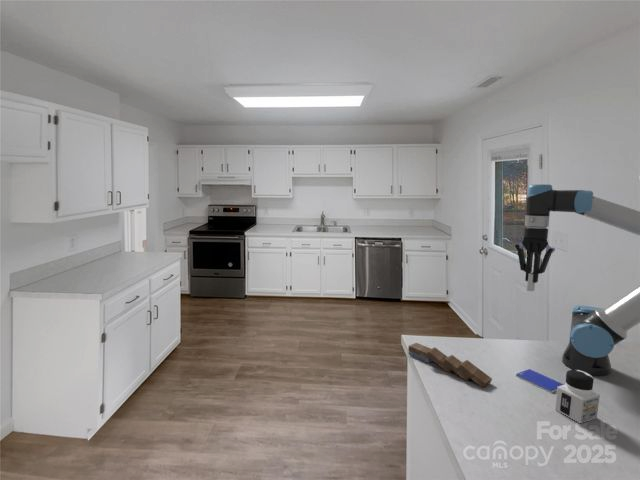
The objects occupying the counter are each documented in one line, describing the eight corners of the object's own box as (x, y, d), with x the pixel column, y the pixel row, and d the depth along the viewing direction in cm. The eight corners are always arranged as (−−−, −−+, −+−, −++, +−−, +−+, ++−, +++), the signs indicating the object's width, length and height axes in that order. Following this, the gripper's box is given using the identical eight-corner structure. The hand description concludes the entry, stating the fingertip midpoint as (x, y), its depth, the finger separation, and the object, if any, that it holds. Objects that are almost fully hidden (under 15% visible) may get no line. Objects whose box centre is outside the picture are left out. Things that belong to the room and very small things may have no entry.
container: (580, 424, 105) (585, 382, 103) (554, 410, 112) (558, 369, 110) (597, 418, 108) (602, 376, 106) (570, 404, 115) (575, 365, 113)
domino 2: (457, 364, 137) (434, 347, 143) (450, 368, 134) (428, 351, 140) (455, 368, 138) (432, 350, 144) (448, 373, 134) (426, 355, 140)
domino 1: (437, 351, 144) (416, 342, 152) (429, 354, 141) (408, 345, 149) (437, 355, 145) (415, 347, 152) (429, 359, 142) (408, 350, 149)
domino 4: (492, 378, 127) (467, 359, 133) (485, 383, 124) (459, 363, 130) (490, 383, 127) (465, 364, 134) (483, 388, 124) (457, 368, 131)
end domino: (428, 363, 142) (408, 354, 150) (436, 360, 145) (416, 351, 153) (428, 359, 142) (408, 349, 150) (437, 355, 145) (416, 346, 153)
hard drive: (515, 373, 132) (551, 390, 122) (530, 368, 136) (565, 384, 125) (515, 377, 133) (550, 394, 122) (529, 372, 136) (564, 388, 126)
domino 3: (475, 372, 131) (452, 354, 138) (468, 376, 128) (444, 358, 135) (473, 376, 132) (450, 359, 139) (466, 381, 129) (442, 362, 136)
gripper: (513, 226, 137) (508, 288, 140) (552, 229, 127) (546, 296, 130) (521, 225, 141) (516, 285, 144) (560, 228, 131) (554, 292, 134)
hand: (530, 290), depth 137 cm, fingers closed
